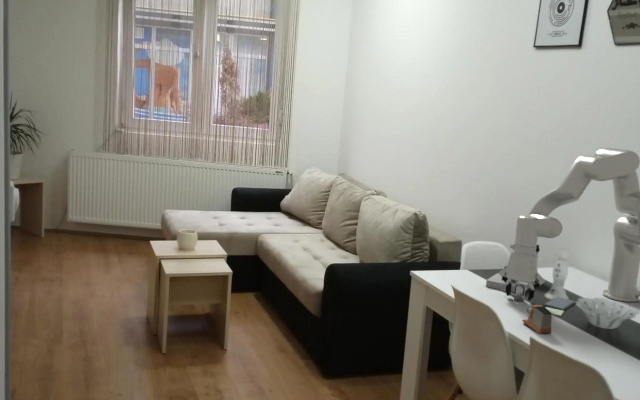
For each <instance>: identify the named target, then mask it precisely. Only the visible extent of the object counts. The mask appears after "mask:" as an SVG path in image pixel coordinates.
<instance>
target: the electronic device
mask: <svg viewBox="0 0 640 400" xmlns="http://www.w3.org/2000/svg"><path fill="white" fill-rule="evenodd" d="M526 312H527V313H528V317H527V319H522V320H521V321H522V322H523V325H525V326H528V327H529V328H530V330H532V331H535V332H536V333H537V334H538V335H543V334H544V335H547V334H549V335H550V334H551V333H552V315H553V314H552V313H551V312H550V311H549V310H547V309H546V307H545V306H543V304H533V305H531V306H529V307H527V308H526Z"/></svg>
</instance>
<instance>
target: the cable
mask: <svg viewBox="0 0 640 400" xmlns="http://www.w3.org/2000/svg"><path fill="white" fill-rule="evenodd" d="M501 292H503V293H505V294H507V293H506V290H505V289H502V290H501ZM509 296H511V297H513V298H514V292H511V294H510V295H509Z"/></svg>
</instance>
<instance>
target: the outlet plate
mask: <svg viewBox="0 0 640 400" xmlns="http://www.w3.org/2000/svg"><path fill="white" fill-rule="evenodd" d="M516 283H523V284H525V285H526V289H525V292H527V291H528V290H530V285H529V283H525V282H520V281H516V282H515V283H512V282H511V284H512V287H511V293H514V292H515V284H516ZM485 287H488V288H492V289H496V290H501V291H502V289H505V290H506V284H505V282H504V281H503V279H502V277H501V276H500V274H499V272H498V273H497V272H496V273H495V274H494V275H492V276H490V277H489V278H487V279H486V283H485Z"/></svg>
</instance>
